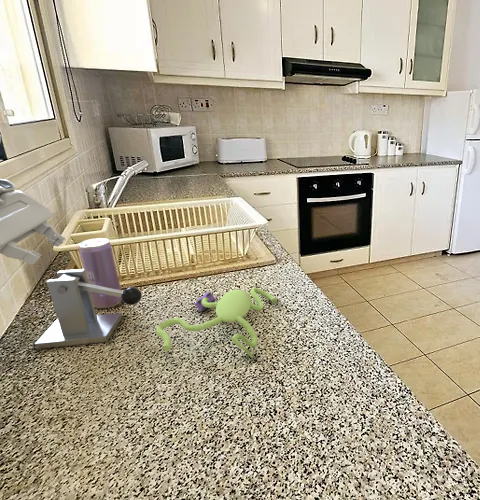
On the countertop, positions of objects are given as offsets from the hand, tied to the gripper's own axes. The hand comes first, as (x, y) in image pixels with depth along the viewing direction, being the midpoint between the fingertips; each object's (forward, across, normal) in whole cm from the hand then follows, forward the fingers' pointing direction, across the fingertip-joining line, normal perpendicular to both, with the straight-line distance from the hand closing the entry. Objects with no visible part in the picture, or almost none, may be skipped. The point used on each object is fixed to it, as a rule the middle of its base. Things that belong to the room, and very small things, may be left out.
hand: (50, 251), depth 69 cm
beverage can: (+14, +12, +11) cm, 21 cm away
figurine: (+34, -5, -8) cm, 35 cm away
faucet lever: (+12, 0, +3) cm, 12 cm away
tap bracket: (+14, 0, +11) cm, 18 cm away
